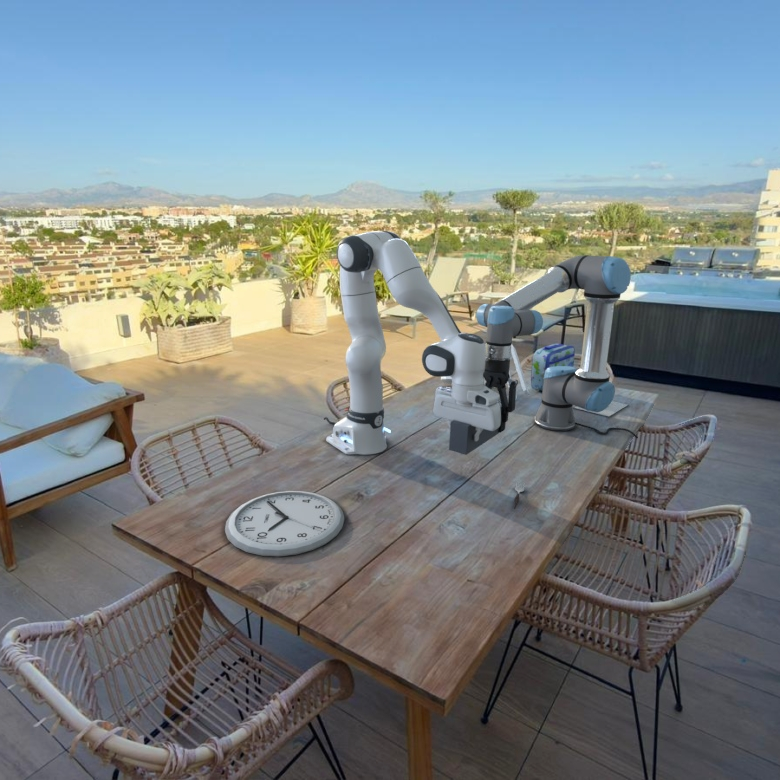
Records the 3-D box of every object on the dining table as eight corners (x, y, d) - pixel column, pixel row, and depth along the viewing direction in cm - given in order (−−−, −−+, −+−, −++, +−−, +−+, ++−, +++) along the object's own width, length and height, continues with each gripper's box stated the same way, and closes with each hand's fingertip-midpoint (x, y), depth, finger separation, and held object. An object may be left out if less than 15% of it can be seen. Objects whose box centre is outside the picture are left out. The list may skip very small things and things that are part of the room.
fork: (509, 509, 142) (509, 503, 141) (516, 484, 156) (517, 477, 156) (519, 511, 141) (519, 504, 140) (525, 485, 155) (526, 479, 155)
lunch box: (547, 395, 239) (552, 351, 233) (526, 390, 247) (530, 347, 240) (574, 384, 257) (579, 343, 251) (554, 380, 264) (558, 339, 258)
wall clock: (344, 547, 121) (211, 552, 118) (344, 554, 121) (212, 558, 119) (344, 486, 149) (237, 489, 147) (344, 491, 150) (237, 494, 147)
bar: (489, 425, 170) (491, 399, 168) (505, 429, 167) (507, 403, 164) (448, 449, 151) (450, 421, 148) (466, 455, 147) (468, 426, 145)
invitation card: (608, 416, 214) (573, 407, 224) (608, 416, 214) (573, 408, 224) (628, 404, 229) (594, 396, 238) (628, 405, 229) (594, 397, 238)
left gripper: (430, 387, 150) (428, 432, 154) (495, 401, 138) (491, 449, 143) (441, 382, 155) (439, 425, 159) (505, 396, 143) (501, 442, 147)
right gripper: (464, 355, 161) (460, 425, 168) (521, 365, 150) (514, 439, 157) (476, 350, 167) (471, 418, 174) (531, 360, 156) (524, 432, 163)
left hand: (464, 437), depth 151 cm, fingers closed on bar, 5 cm apart
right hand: (492, 428), depth 166 cm, fingers closed on bar, 6 cm apart
